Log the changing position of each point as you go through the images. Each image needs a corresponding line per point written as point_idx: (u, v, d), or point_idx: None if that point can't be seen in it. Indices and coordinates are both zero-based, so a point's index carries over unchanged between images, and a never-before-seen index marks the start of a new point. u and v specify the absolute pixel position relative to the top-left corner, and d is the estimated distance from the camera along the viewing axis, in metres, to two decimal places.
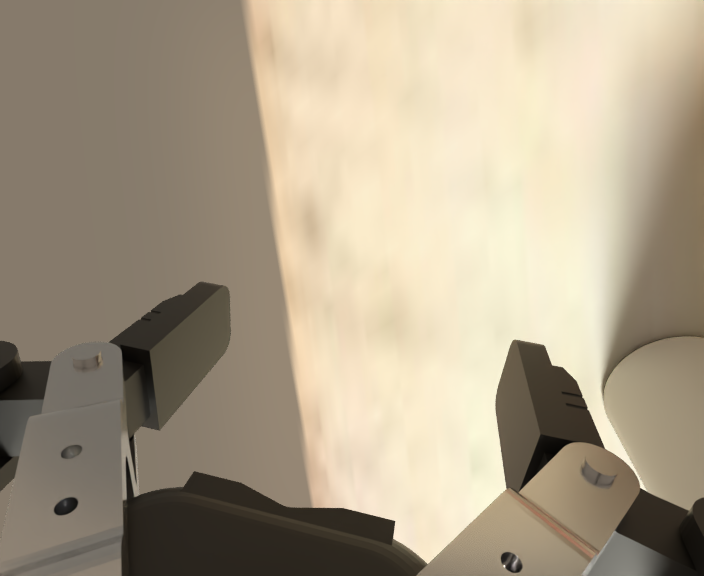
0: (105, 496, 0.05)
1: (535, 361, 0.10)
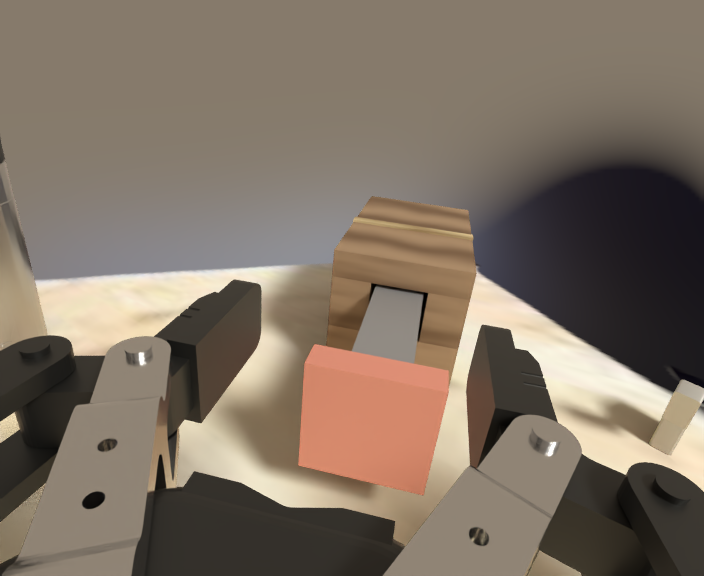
0: (130, 494, 0.05)
1: (499, 344, 0.11)
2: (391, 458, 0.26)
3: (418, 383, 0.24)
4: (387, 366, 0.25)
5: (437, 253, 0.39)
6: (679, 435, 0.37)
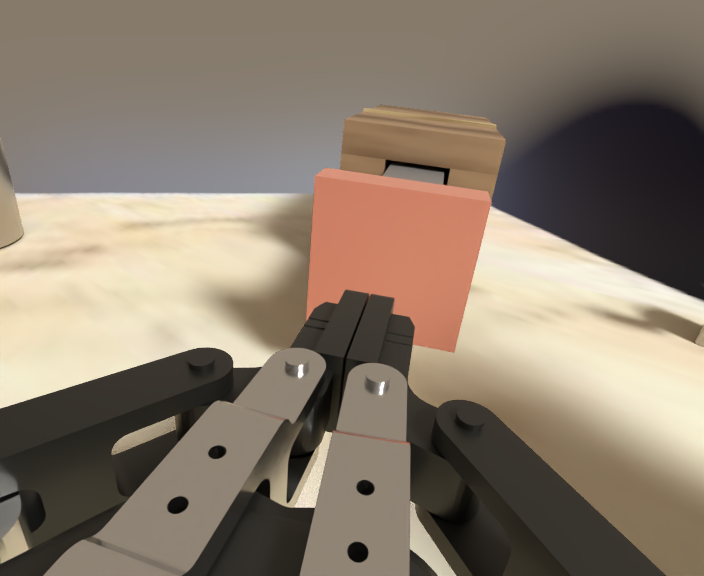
0: (206, 516, 0.05)
1: (377, 308, 0.12)
2: (417, 303, 0.22)
3: (453, 194, 0.20)
4: (414, 184, 0.21)
5: (459, 130, 0.35)
6: None
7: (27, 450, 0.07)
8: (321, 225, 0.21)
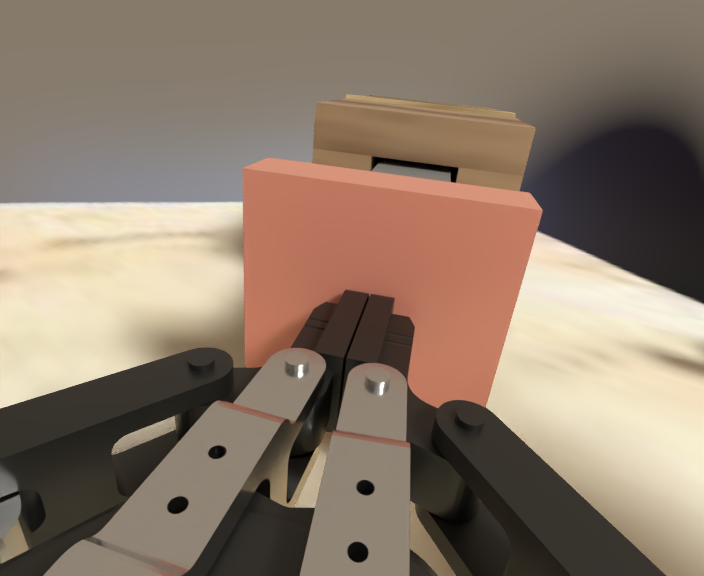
0: (206, 517, 0.05)
1: (377, 309, 0.12)
2: (415, 373, 0.14)
3: (476, 198, 0.12)
4: (409, 182, 0.13)
5: (469, 117, 0.26)
6: None
7: (27, 450, 0.07)
8: (258, 249, 0.13)
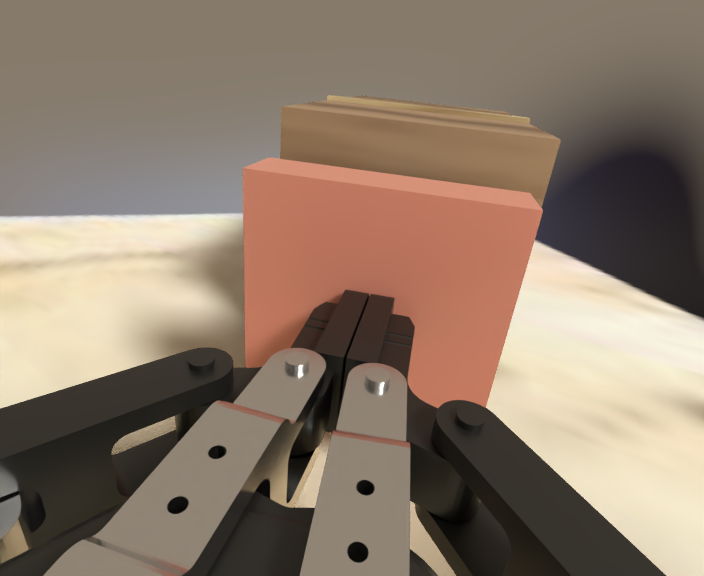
0: (206, 517, 0.05)
1: (377, 308, 0.12)
2: (415, 373, 0.14)
3: (476, 199, 0.12)
4: (409, 182, 0.13)
5: (475, 124, 0.21)
6: None
7: (27, 450, 0.07)
8: (258, 249, 0.13)
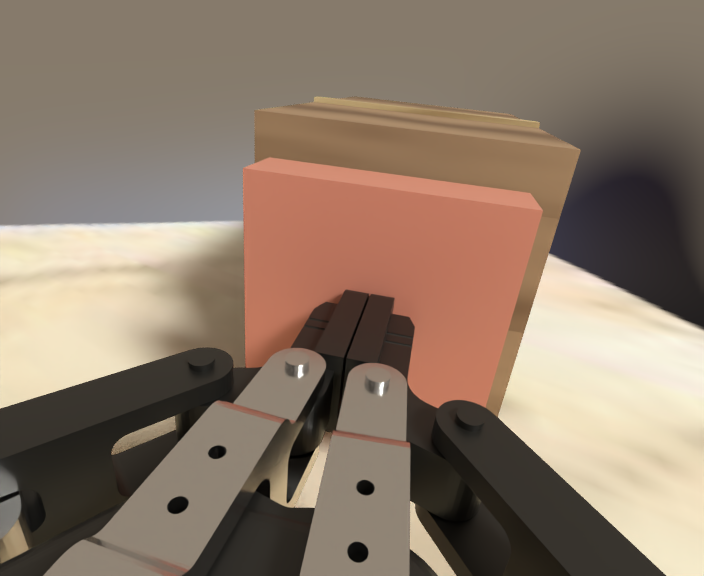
0: (207, 516, 0.05)
1: (377, 309, 0.12)
2: (415, 373, 0.14)
3: (476, 198, 0.12)
4: (409, 182, 0.13)
5: (478, 130, 0.18)
6: None
7: (27, 450, 0.07)
8: (258, 249, 0.13)
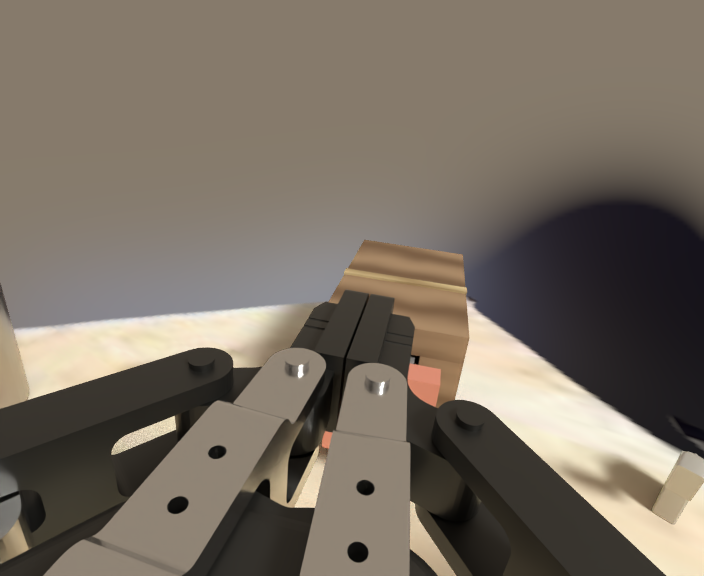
0: (207, 516, 0.05)
1: (377, 308, 0.12)
2: None
3: (417, 378, 0.31)
4: None
5: (429, 313, 0.38)
6: (683, 504, 0.35)
7: (27, 450, 0.07)
8: None
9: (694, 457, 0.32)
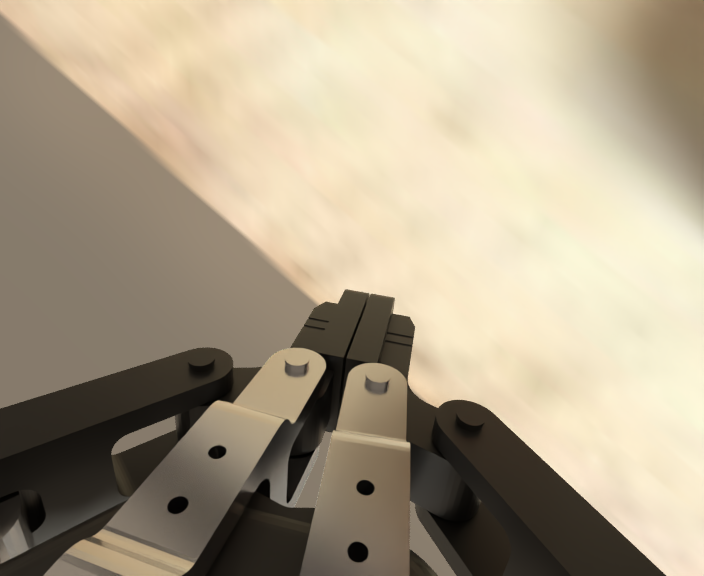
0: (207, 516, 0.05)
1: (377, 308, 0.12)
2: None
3: None
4: None
5: None
6: None
7: (27, 450, 0.07)
8: None
9: None
